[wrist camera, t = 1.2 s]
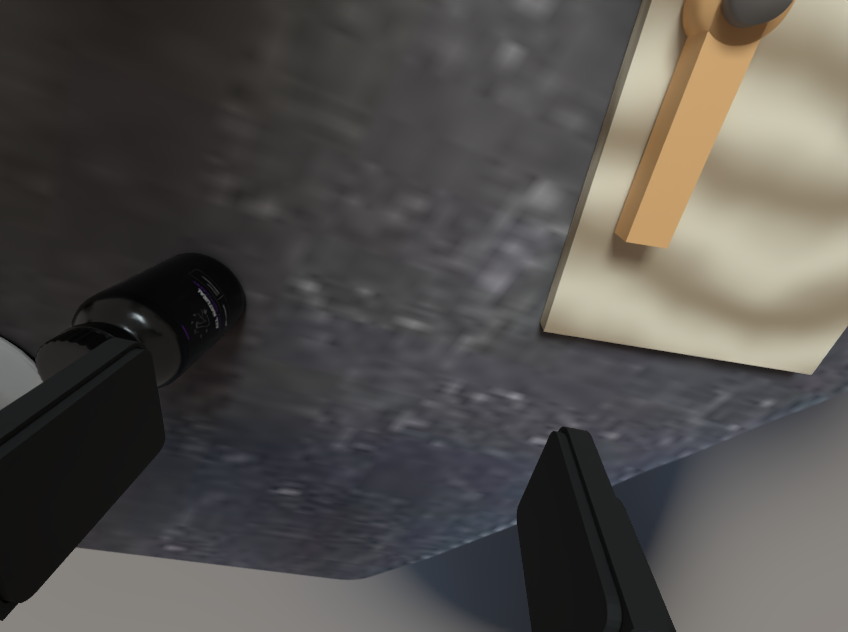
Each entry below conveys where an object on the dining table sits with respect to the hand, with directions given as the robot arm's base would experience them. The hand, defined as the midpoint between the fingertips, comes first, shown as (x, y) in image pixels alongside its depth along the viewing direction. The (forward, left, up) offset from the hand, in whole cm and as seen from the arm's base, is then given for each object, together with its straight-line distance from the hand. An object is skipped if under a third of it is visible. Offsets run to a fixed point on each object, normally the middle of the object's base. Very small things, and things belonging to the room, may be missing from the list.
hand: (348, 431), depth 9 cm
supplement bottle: (+9, -16, -21) cm, 28 cm away
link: (-8, +14, -19) cm, 25 cm away
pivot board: (-6, +20, -21) cm, 30 cm away
